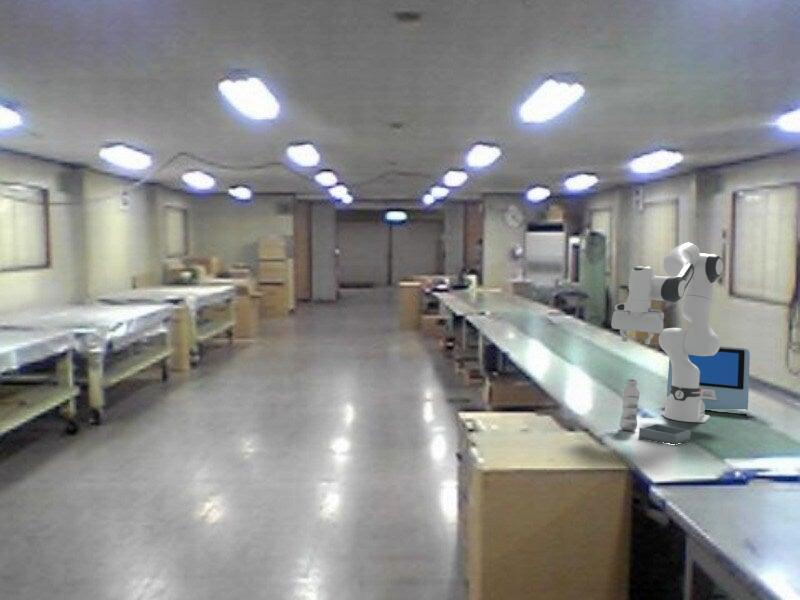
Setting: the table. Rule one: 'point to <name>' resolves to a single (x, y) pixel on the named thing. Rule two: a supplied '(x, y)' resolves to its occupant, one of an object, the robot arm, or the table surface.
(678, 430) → the box
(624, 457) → the table surface
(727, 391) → the touchscreen device
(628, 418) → the plastic bottle
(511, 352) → the table surface
